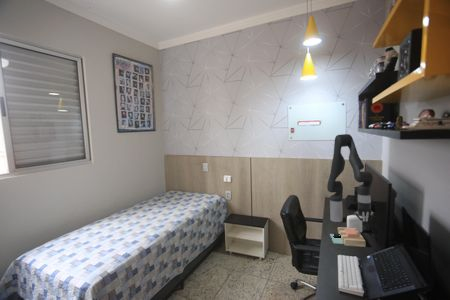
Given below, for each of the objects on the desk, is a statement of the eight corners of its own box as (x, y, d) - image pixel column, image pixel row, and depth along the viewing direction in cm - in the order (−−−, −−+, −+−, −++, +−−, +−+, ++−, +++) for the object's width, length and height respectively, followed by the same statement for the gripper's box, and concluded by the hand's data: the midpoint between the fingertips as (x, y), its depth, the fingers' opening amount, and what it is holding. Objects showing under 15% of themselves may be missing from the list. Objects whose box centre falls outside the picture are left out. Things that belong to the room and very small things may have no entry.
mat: (329, 234, 165) (329, 233, 165) (338, 234, 163) (338, 234, 163) (333, 243, 152) (333, 243, 152) (343, 244, 150) (343, 243, 150)
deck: (337, 232, 167) (337, 227, 167) (355, 233, 164) (355, 227, 164) (344, 245, 148) (344, 239, 148) (365, 246, 145) (365, 240, 145)
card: (344, 231, 160) (344, 228, 160) (353, 231, 158) (353, 228, 158) (347, 236, 151) (347, 233, 151) (357, 237, 150) (357, 234, 150)
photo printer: (360, 230, 168) (360, 214, 168) (363, 232, 164) (363, 216, 163) (346, 230, 170) (345, 214, 169) (348, 232, 166) (347, 216, 165)
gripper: (373, 199, 153) (373, 224, 154) (351, 199, 156) (352, 223, 157) (377, 202, 146) (378, 229, 147) (354, 202, 149) (355, 228, 150)
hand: (364, 226), depth 152 cm, fingers closed
